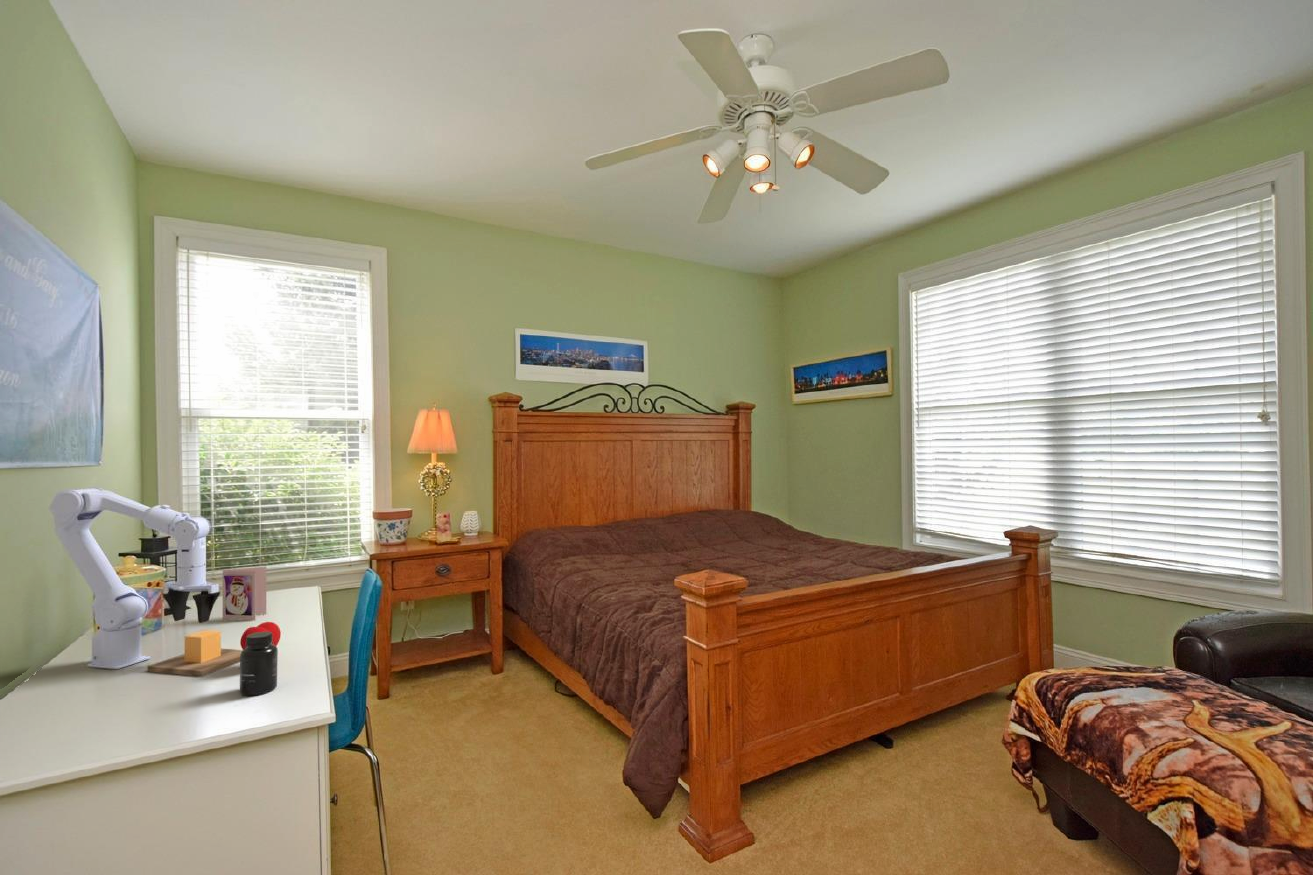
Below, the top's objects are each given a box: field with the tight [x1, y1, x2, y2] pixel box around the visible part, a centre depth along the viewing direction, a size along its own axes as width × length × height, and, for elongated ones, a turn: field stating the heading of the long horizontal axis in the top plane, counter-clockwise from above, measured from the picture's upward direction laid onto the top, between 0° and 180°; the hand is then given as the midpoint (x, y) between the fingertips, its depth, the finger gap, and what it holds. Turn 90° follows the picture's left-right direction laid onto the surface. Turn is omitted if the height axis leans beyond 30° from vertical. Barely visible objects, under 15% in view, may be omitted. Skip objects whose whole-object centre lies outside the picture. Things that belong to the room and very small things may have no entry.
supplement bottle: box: [239, 632, 279, 697], centre depth 132 cm, size 7×7×12 cm
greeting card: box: [222, 566, 267, 621], centre depth 190 cm, size 11×7×15 cm, turn 81°
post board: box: [147, 648, 243, 677], centre depth 149 cm, size 16×14×6 cm
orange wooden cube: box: [184, 629, 222, 663], centre depth 149 cm, size 5×5×6 cm
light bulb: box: [240, 621, 282, 650], centre depth 147 cm, size 9×7×10 cm
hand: (191, 620), depth 153 cm, fingers open, 7 cm apart
